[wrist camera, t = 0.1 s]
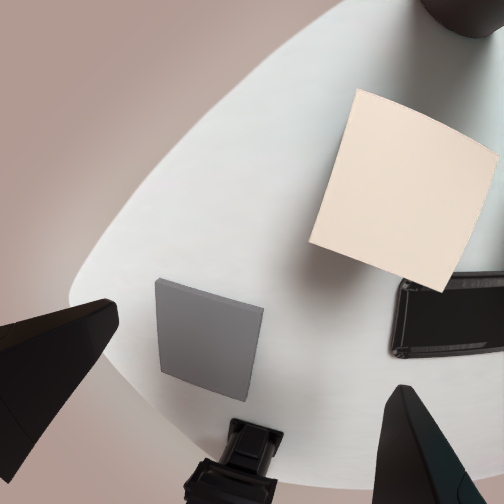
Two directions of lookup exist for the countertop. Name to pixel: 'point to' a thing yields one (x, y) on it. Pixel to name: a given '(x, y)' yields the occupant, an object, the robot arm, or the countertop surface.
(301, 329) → the countertop surface
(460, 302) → the phone
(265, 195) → the countertop surface
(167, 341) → the mat
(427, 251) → the tea tin
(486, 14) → the bottle
